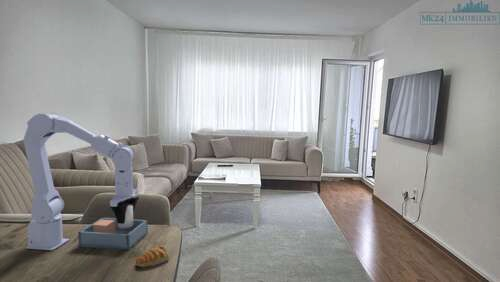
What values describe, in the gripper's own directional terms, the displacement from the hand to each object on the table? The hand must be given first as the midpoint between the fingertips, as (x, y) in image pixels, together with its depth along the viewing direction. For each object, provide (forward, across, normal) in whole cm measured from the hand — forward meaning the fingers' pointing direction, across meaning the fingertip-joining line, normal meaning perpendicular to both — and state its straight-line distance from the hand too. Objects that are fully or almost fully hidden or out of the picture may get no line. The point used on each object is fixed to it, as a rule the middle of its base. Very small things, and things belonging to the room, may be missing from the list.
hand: (125, 220), depth 106 cm
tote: (+7, 0, +4) cm, 8 cm away
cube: (+6, 0, +8) cm, 10 cm away
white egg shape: (+2, 0, 0) cm, 2 cm away
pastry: (+8, -12, -16) cm, 21 cm away
